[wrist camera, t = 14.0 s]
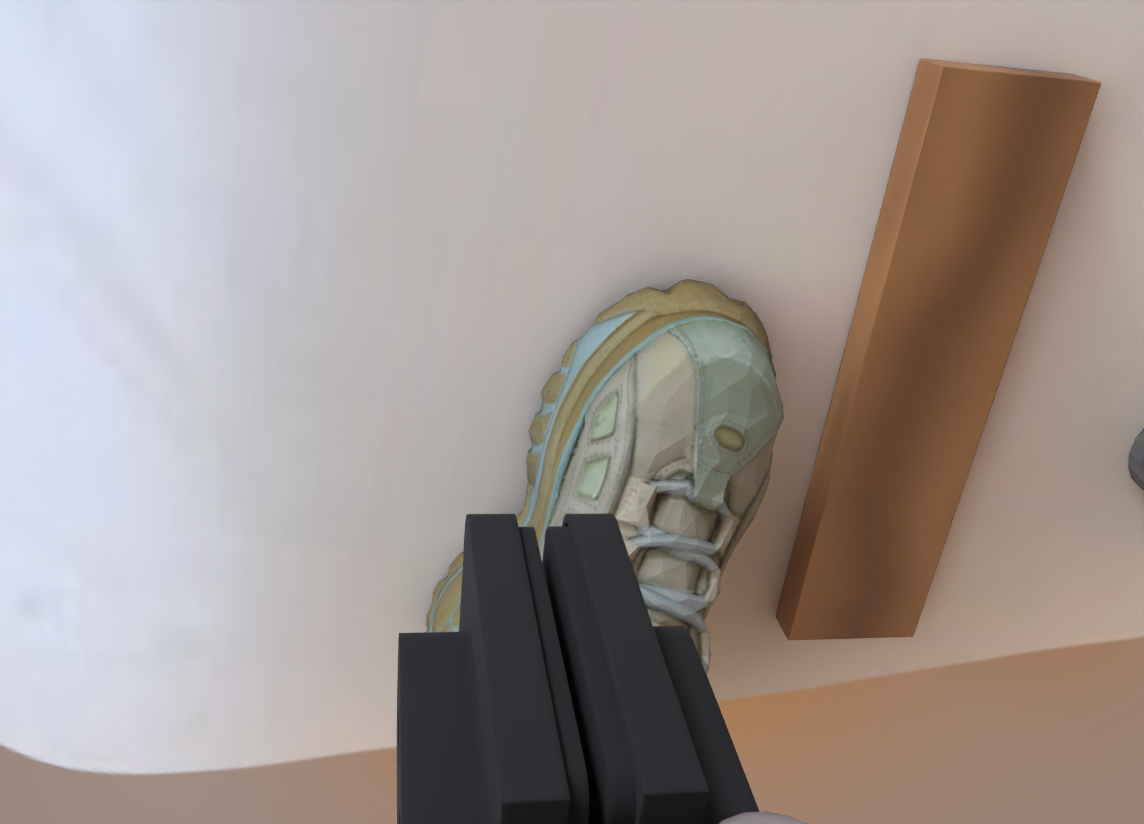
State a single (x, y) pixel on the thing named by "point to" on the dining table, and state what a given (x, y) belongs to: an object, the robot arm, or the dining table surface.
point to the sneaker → (655, 445)
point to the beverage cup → (1137, 460)
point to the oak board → (930, 339)
